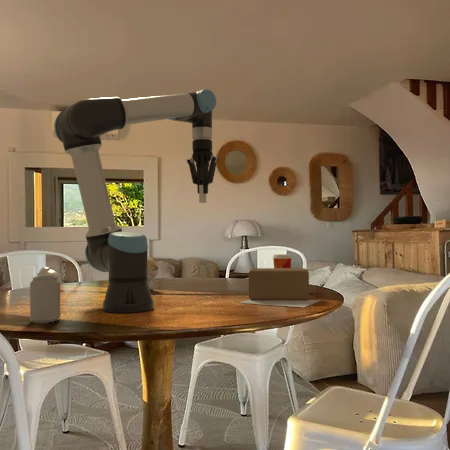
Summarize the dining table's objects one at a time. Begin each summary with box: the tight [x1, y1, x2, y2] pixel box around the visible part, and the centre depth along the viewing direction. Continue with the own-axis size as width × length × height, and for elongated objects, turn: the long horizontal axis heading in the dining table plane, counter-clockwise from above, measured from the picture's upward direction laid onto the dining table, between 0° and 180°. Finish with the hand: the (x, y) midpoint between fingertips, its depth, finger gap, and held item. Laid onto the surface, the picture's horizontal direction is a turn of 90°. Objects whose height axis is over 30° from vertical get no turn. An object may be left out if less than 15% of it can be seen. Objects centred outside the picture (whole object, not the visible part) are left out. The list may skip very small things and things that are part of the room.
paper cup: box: [272, 253, 293, 268], centre depth 188 cm, size 8×8×14 cm
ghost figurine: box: [36, 266, 62, 284], centre depth 190 cm, size 9×9×10 cm
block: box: [248, 267, 310, 300], centre depth 162 cm, size 10×10×20 cm
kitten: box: [147, 256, 160, 292], centre depth 189 cm, size 15×10×15 cm
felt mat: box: [239, 298, 321, 309], centre depth 155 cm, size 16×22×1 cm
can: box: [29, 276, 61, 324], centre depth 126 cm, size 8×8×12 cm
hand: (202, 202), depth 179 cm, fingers closed
